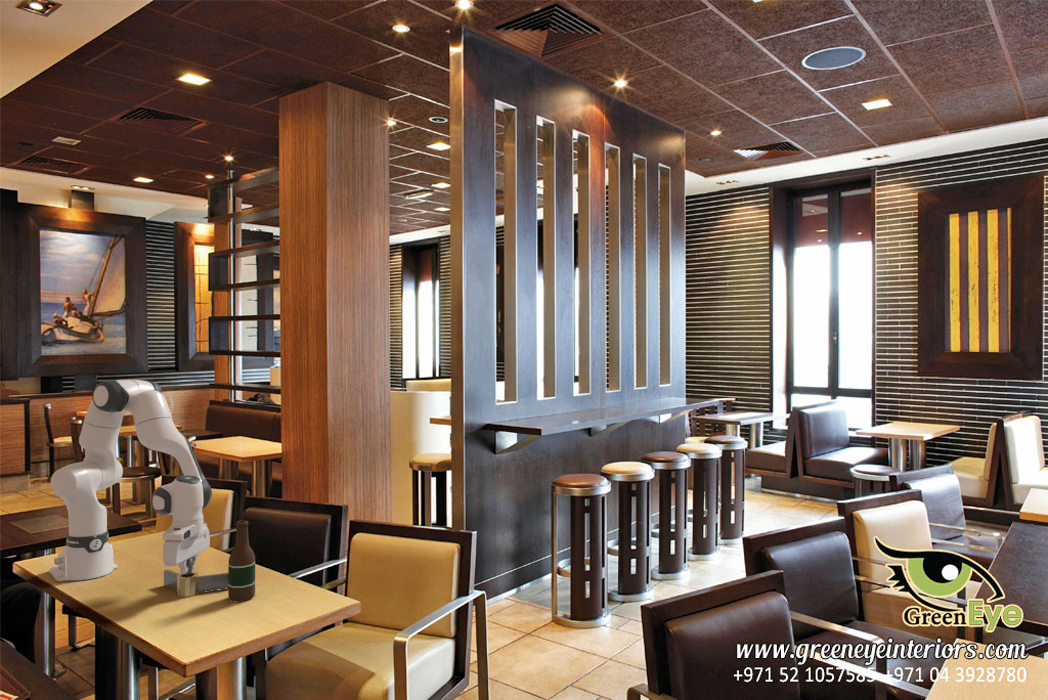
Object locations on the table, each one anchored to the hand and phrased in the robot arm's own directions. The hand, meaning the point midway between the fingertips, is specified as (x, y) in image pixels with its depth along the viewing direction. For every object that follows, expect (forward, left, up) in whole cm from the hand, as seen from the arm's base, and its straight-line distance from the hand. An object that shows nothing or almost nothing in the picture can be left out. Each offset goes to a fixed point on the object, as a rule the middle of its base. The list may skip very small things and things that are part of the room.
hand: (187, 571), depth 218 cm
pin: (0, 0, -4) cm, 4 cm away
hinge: (-3, +5, -7) cm, 9 cm away
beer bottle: (+17, +8, -7) cm, 20 cm away
